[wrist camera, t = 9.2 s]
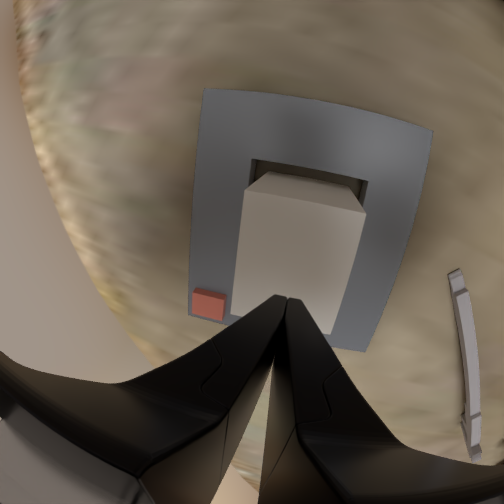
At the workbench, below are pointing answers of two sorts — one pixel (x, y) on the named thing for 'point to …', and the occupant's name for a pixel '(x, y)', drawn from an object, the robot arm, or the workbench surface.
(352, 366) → the workbench surface
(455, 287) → the caliper
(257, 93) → the socket
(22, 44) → the workbench surface
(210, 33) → the workbench surface
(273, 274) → the plug
